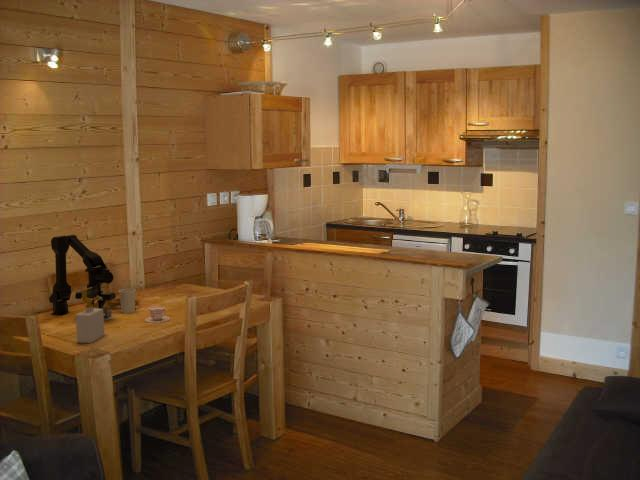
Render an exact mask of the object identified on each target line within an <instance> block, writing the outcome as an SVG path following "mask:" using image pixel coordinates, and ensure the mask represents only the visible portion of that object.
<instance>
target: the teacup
mask: <svg viewBox="0 0 640 480" xmlns="http://www.w3.org/2000/svg"><path fill="white" fill-rule="evenodd" d="M147 309H148V311H149V313H150V316H148V317H146V318H145V319H144V321H145V322H146V323H151V324H159V323H165V322H168V321H170V320H171V317H170V316H166V310H165V309H166V307H165V306H164V305H163V306H162V305H153V306H149V307H147Z"/></svg>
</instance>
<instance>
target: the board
mask: <svg viewBox="0 0 640 480" xmlns="http://www.w3.org/2000/svg"><path fill="white" fill-rule="evenodd" d="M103 315H105V314H103ZM117 316H118V314H111V317H109V318H104V322H106V321H108V320H111V319H112V318H115V317H117Z"/></svg>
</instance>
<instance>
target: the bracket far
mask: <svg viewBox="0 0 640 480" xmlns="http://www.w3.org/2000/svg"><path fill="white" fill-rule="evenodd" d="M111 315H112V310H111V309H108V311H107V312H105V315H103V317H104V318H109V317H111Z"/></svg>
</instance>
